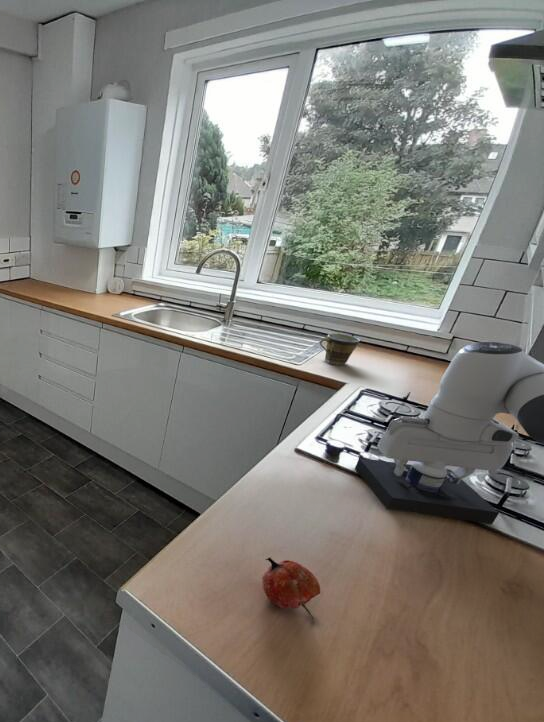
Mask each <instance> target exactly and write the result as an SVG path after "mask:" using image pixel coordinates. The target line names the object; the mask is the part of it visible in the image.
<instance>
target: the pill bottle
mask: <svg viewBox="0 0 544 722" xmlns="http://www.w3.org/2000/svg"><path fill="white" fill-rule="evenodd" d="M411 465H412V466H411V468H410V470H409V473H408V474H407V477H406V478H405V480H406V481H407V482H408V483H409V484H411V485H413V486H414V487H417V488H419V489H421V490H425V491H428V492H435V493H436V492H438V490H439V488H440V486H441V485H442V483H443V481H444V479H445V477H446V475H447V470H446V469H447V468H446V467H447V466H448V465H446V462H440V461H437V462H435V463H433V464H432V463H424V462H416V461H412V464H411Z"/></svg>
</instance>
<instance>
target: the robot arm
mask: <svg viewBox="0 0 544 722" xmlns="http://www.w3.org/2000/svg"><path fill="white" fill-rule="evenodd" d="M498 414H506V415H511V416H512V417H513V419H515V420H516V422H518V423H519V425H520V427H521V428H522V429H523V430H524V432H525V433H526V435H528V436H529V437H530V439H532V440H534V441H536V442H538V443H540V444H542V445H544V363H543V362H541V361H539V360H537V359H535V357H532V356H531V355H529V354H527V352H526V351H524V350H523V348H521V347H520V346H518V345H515V344H511V343H503V342H497V341H481V342H475V343H471V344H466V345H465V346H463V347H462V348H461V349H460V350H459V351H457V353H456V354H455V355H454V357H453V359H451V361H450V363H449V364H448V366H447V368H446V370H445V372H444V373H443V375H442V378H441V379H440V382H439V390H438V392H437V393H436V395H434V397H433V398H432V399H431V400H430V403H429V405H428V407H427V409H426V411H425V413H424V415H423V418H422V417H410V416H400V417H398V418H395V419H392V420H391V421H390V422H389V424H388V426H387V428H386V429H385V431H384V433H383V434H382V436H381V437H380V439H379V440H378V443H377V449H378V450H379V452H380V453H381V454H382V455H383V456H384V457H385V458H386V459H392V460H393V461H394V463H395V464H396V468H395V470H394V473H395V474H396V475H397V476H400V477H407V474H408V473H409V471H408V470H407V469H406V468H405V467H404V465H403V464H408V462H414V461H416V462H424V463H432V464H433V463H435V462H437V461H440V462H446V465H447V466H450V467H457V469H455V470H454V471H453V472H448V474H447V476H446V480H447V481H449V483H454V484H459V483H460V482H461V480H463V479H464V478H466V477H468V476H470V475H472V474H474V473H475V470H482V471H489V472H495V471H499V470H500V469H502V468H503V467H505V464H506V463H507V461H508V460H509V459H510V456H511V454H512V451H513V449H514V447H513V444H514V443H515V442H516V441H517V440H518V438H519V437H520V435H519V433H518V432H516V431H515V430H513V429H512V428H511V427H509V426H507V425H506V424H505V423H503V422H500V421H499V420H497V419H496V418H495V416H496V415H498Z"/></svg>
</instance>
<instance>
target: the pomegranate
mask: <svg viewBox="0 0 544 722" xmlns="http://www.w3.org/2000/svg"><path fill="white" fill-rule="evenodd" d="M265 561H268V562H269V563H270V566H269V567H268V569H267V570H266V571H265V572H264V574H263V575H262V577H261V578H262V581H261V583H262V589H263V591H264V593H265V595H266V597H267V599H268V600H269V602H271V603H272V604H274V605H275V606H276V607H279V608H280V609H284V610H285V609H287V608H291V609H298V608H300V607H302V608H303V609H305V611H306V612H307V613H308V614H309V616H310V618H311V619H312V620H315V617H313V615H312V614H311V612H310V610H309V609H308V607H307V606H306V604H307V603H309V602H311V600H312V599H314V598H315V597H317V596H318V595H320V594H321V586H320V583H319V581H318V579H317V577H316V576H315V575H314V574H313V572H312V571H310V569H309V568H307V567H305V566H303V565H302V564H300V563H298V562H296V561H294V560H285V559H284V560H282V561H280V562H276V561H275V560H273V559H272V557H271V556H270V557H268V558H266V559H265Z"/></svg>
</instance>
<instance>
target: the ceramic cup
mask: <svg viewBox="0 0 544 722" xmlns="http://www.w3.org/2000/svg"><path fill="white" fill-rule="evenodd" d="M324 341H326V345H325V346H326V347H325V346H323V344H322V343H323V342H324ZM360 341H361V340H360V339H359V338H358V337H355V336H353V335H349V334H344V333H329V334H327V337H326V338H322V339H321V340H320V341H319V345H320V347H321V348H322V349H323V350H324V351H325V356H324V362H326V363H327V364H330V365H334V366H345V365H346V364H347V362H348V361H349V359H350V358H351V356H352V354H353V352H354V351H355V350H356V348H357V347H358V345H359V344H360Z"/></svg>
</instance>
